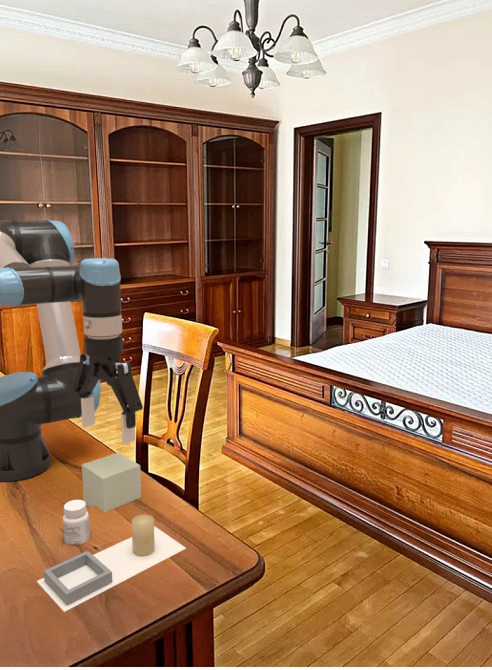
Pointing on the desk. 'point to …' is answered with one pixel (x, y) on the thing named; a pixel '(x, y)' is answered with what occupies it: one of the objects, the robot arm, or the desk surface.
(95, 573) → the board
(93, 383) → the robot arm
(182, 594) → the desk surface
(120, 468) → the housing
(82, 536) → the pill bottle
